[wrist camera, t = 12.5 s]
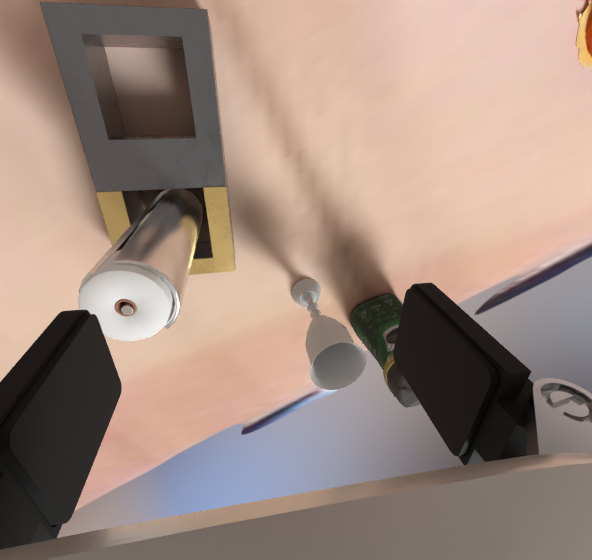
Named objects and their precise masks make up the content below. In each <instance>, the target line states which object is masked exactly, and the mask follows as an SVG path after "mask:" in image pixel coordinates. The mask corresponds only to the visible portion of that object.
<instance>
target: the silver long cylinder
mask: <svg viewBox="0 0 592 560" xmlns="http://www.w3.org/2000/svg"><path fill="white" fill-rule="evenodd" d="M202 220H203V207H202V205H201V203H200V201H199V200H198V198H197V197H196V196H195V195H194V194H192V193H191V192H189V191H187V190H185V189H182V188H180V189H166V190H164V191H162V192H161V193H159V195H158V196H157V197H156V198H155V199H154V200H153V201H152V202H151V204H150V205H149V206H148V207H147V208H146V209H145V210H144V211H143V212H142V214H141V215H140V216H139V217H138V218H137V219H136V220H135V221H134V222H133V224H132V225H131V226H130V227H129V228H128V229H127V230H126V231H125V232H124V234H123V235H122V236H121V237H120V238H119V239H118V240H117V241H116V243H115V244H114V245H113V246H112V247H111V248H110V249H109V250H108V251H107V253H106V254H105V255H104V256H103V257H102V258H101V259H100V260H99V261H98V263H97V264H96V265H95V266H94V267H93V268H92V269H91V270H90V272H89V273H88V274H87V275H86V276H85V278H84V279H83V281H82V284H81V286H80V289H79V297H78V300H79V309H80V310H88V311H89V312H90V314H95V315H96V316H97V318H98V320H99V323H100V326H101V329H102V331H103V334H104V335H105V336H107V337H109V338H113V339H117V340H122V341H136V340H142V339H145V338H148V337H151V336H153V335H154V334H156V333H157V332H159V331H160V330H161V329H162V328H163V327H164V326H165V327H166V328H167V329H168V328H169V327H170V326H171V325H172V324H173V323H174V322H175V320H176V318H177V316H178V314H179V312H180V308H181V304H182V300H183V296H184V292H185V288H186V284H187V280H188V276H189V272H190V268H191V264H192V260H193V256H194V252H195V248H196V244H197V240H198V236H199V232H200V228H201V224H202Z"/></svg>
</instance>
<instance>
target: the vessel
mask: <svg viewBox="0 0 592 560" xmlns="http://www.w3.org/2000/svg"><path fill="white" fill-rule="evenodd" d="M588 2H589V5H588V6H587V8H586V10H585V11H584V12H583V14H582V15H581V13H580V15H579V24H580V26H579V30H578V35H577V41H576V46H577V47H578V48H579V49H580V50H579V54H578V55H579V61H580V62H581V64H582V66H583V67H588V68H589V69H590V70H591V71H592V0H588Z"/></svg>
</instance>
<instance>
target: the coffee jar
mask: <svg viewBox="0 0 592 560" xmlns="http://www.w3.org/2000/svg"><path fill="white" fill-rule="evenodd" d="M402 308H403V303H402V302H401V301H400V300H399V299H398V298H397V297H396V296H395V295H392V294H385V295H381V296H378V297H375V298H373V299H370V300H368V301H366V302H364V303H362V304H360V305H358V306H357V307H356V308H355V309H354V310H353V312H352V314H351V323H352V327H353V329H354V331H355V333H356V334H357V336H358V337H359V339H360V340H361V341H362V343H363V344H364V345H365V346H366V347H367V349H368V350H369V351H370V352H371V353H372V355H373V356H374V357H375V359H376V360H377V361H378V363H379V364H380V366H381V367H382V369H383V374H384V379H385V382H386V384H387V386H388V388H389V390H390V391H391V392H392V393H393V395H394V396H395V397H396V398H397V399H398V401H399V402H400V403H401V404H402V405H403V406H404V407H412V406H416V405H419V404H421V403H420V402H419V400H418V398H417V397H416V395H415V394H414V392H413V390H412V389H411V387H410V386H409V384H408V382H407V381H406V379H405V378H404V376H403V374H402V373H401V371H400V370H399V368H398V366H397V365H396V363H395V361H394V358H393V350H394V346H395V341H396V336H397V331H398V327H399V322H400V317H401V313H402Z"/></svg>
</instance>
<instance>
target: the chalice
mask: <svg viewBox="0 0 592 560" xmlns="http://www.w3.org/2000/svg"><path fill="white" fill-rule="evenodd" d="M320 291H321V289H320V285H319V284H318V282H316V281H315V280H313V279H303V280H300V281H298V282H297V283H296V284H295V285H294V286H293V288H292V291H291V296H292V299H293V300H294V301H295V302H296V303H297V304H299V305H301V306H303V307H307V310H308V311H309V312H311V318H313V319H312V321H311V323H310V326H309V329H308V331H307V338H306V350H307V353H308V356H309V359H310V362H311V370H310V374H311V379H312V381H313V382H314V383H315V385H317V386H318V387H320V388H322V389H327V390H335V389H340V388H343V387H346V386H348V385H349V384H351V383H352V382H354V381H355V380H356V379H357V378H358V377H359V376H360V374H361V373H362V372H363V370H364V368H365V365H366V355H365V352H364V351H363V349H362V348H361V347H360V346H358V345H357V344H355V343H354V341H353V340H352V338H351V336H350V334H349V332H348V331H347V329H346V327H345V326H344V325H342V324H341V323H340V322H338V321H336V320H335V319H333V318H330V317H327V316H324V315H321V312H320V311H319V310H317V309H318V304H317V302H318V300H319V296H320Z"/></svg>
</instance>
